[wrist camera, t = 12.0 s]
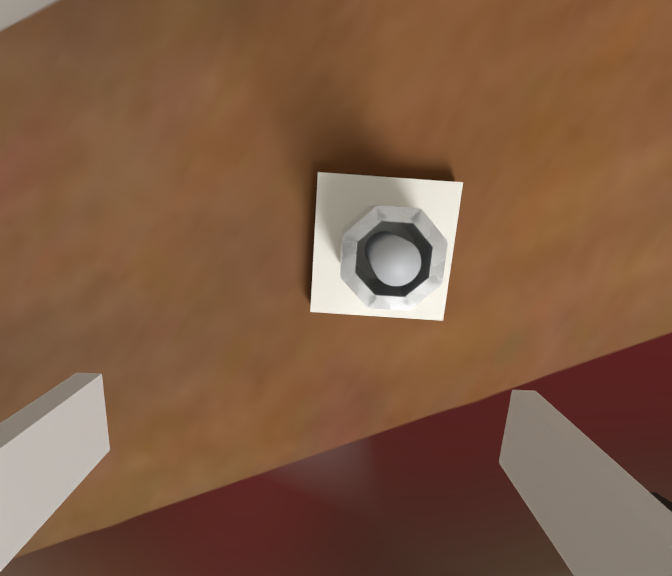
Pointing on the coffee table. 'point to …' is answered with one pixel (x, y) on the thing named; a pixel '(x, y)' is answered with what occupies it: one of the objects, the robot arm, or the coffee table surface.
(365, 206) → the post
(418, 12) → the coffee table surface
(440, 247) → the tube
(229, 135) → the coffee table surface
